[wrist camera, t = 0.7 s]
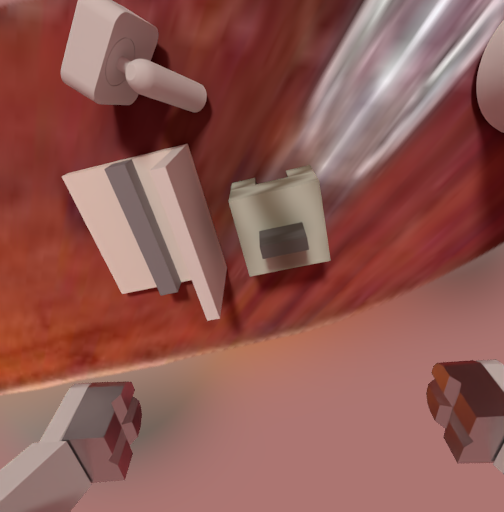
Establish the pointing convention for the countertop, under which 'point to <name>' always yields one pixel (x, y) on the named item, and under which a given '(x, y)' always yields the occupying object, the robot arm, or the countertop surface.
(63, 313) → the countertop surface
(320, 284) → the countertop surface
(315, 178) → the cabinet block
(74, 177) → the board
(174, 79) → the white block with rod
